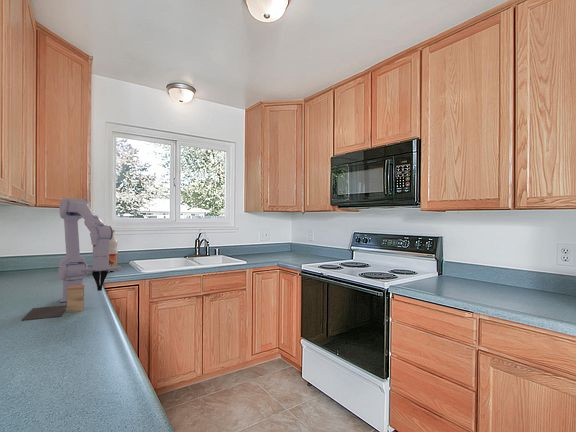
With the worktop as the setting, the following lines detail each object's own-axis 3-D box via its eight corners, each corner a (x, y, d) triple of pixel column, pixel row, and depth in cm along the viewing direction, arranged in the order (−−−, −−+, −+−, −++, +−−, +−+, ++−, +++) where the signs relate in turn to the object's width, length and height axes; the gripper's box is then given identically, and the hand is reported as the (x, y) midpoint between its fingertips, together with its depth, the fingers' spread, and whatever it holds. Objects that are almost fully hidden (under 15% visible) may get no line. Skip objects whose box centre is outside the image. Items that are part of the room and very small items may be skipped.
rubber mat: (32, 308, 121) (32, 308, 121) (67, 305, 126) (67, 305, 126) (21, 320, 107) (21, 319, 107) (60, 316, 112) (60, 315, 112)
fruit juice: (120, 270, 215) (121, 230, 216) (108, 272, 206) (109, 230, 207) (110, 269, 219) (111, 229, 219) (97, 271, 210) (99, 229, 210)
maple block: (68, 309, 122) (69, 285, 122) (83, 307, 125) (84, 284, 125) (66, 312, 118) (67, 288, 118) (82, 310, 120) (83, 287, 120)
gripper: (78, 257, 118) (76, 293, 118) (121, 256, 125) (120, 290, 125) (80, 255, 125) (78, 290, 124) (121, 254, 131) (120, 287, 131)
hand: (99, 290), depth 125 cm, fingers closed
